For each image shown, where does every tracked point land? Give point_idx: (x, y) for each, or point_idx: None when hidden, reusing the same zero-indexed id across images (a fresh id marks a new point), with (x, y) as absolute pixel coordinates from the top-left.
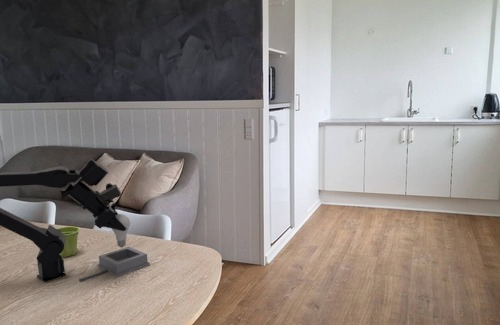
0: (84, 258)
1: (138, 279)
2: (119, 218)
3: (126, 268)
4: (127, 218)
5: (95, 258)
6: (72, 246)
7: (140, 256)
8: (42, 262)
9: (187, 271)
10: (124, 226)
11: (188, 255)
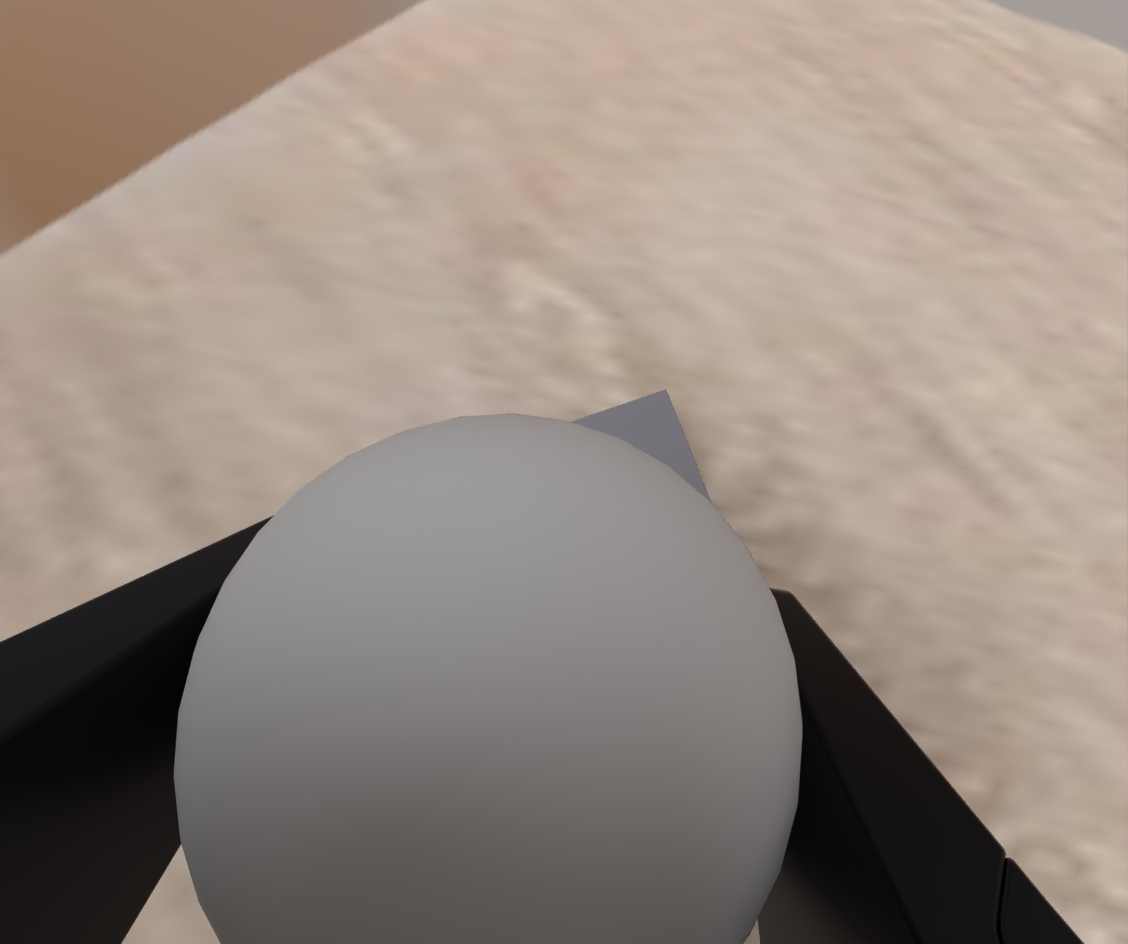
0: (143, 923)
1: (922, 566)
2: (730, 828)
3: None
4: (644, 477)
5: None
6: None
7: (695, 463)
8: None
9: (939, 189)
10: (808, 637)
11: (621, 93)
